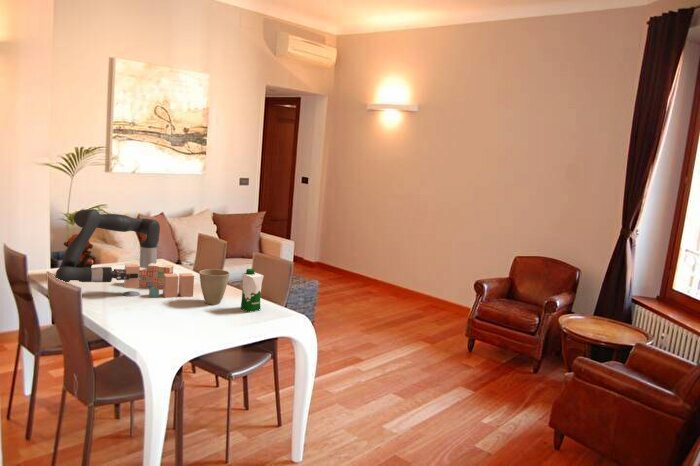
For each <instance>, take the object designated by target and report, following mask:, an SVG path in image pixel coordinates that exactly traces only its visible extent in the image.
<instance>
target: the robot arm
mask: <svg viewBox="0 0 700 466" xmlns="http://www.w3.org/2000/svg"><path fill="white" fill-rule="evenodd" d="M73 221H74V223H75V224H76V225H77V226H78V227H80V228H81V230H80V231H79V233H77V234H78V235H77V236H76V238H75V239H74V240H73V241H72V242H71V243H70V244H69V246H68V247H67V248H66V250H65V252H64V255H63V257H62V259H61V260H62V261H61V264H60V265H59V267H58V268H57V270H56V272H55V279H56V278H58V279H60V280H63V281H65V282H68V283H70V282H71V281H78V282H79V283H112V281H113V279H115V280H116V281H124V280H129V279H130V278H138V274H129V273H126V272H125V268H124V269H123V268H114V269H112V267H111V266H96V267H91V268H78V267H76V265H77V263H78V261H79V259H80V256H81V254H82V252H83V250H84V248H85V246H86V244H87V242H88V241H89V242H90V239H91V237H92V236H93V234H94V232H95V231H96V230H97V229H103V230H105V231H106V230H108V231H113V232H120V233H122V232H123V233H124V232H125V233H126V232H136V233H140V234H143V235H146V237H145V238H146V239H144V240H141V241H140V243H139V267H141V268H147V265H149V264H151V263H155V264H157V258H158V244H159V241H160V232H161V226H160V225H161V224H160V222H159V221H158V220H156V219H153V218H152V219H151V218H135V217H131V216H128V215H124V214H119V213H100V212H99V211H98V210H96V209H94V208H93V209H81V210H78V211H77V212H76V213H75V214H74V216H73ZM126 276H127V277H126Z"/></svg>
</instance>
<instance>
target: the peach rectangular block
mask: <svg viewBox="0 0 700 466" xmlns="http://www.w3.org/2000/svg"><path fill="white" fill-rule="evenodd" d="M194 283H195V275H194V274H193V273H191V272H183V273H182V272H181V273H179V276H178V296H179V297H181V298H185V297H186V298H187V297H193V296H194V285H195V284H194Z"/></svg>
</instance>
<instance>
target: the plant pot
mask: <svg viewBox="0 0 700 466" xmlns="http://www.w3.org/2000/svg"><path fill="white" fill-rule="evenodd" d="M198 275H199V281H200V287H201V292H202V296H203V298H204V299H203V300H204V302H205V304H207V305H213V306H214V305H219V304H221V302H222V300H223V297H224V295H225V293H226V289H227V286H228V282H229V278H230V272H229V271H227V270H224V269H216V268H215V269H214V268H208V269H203V270H199V273H198Z"/></svg>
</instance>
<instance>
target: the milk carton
mask: <svg viewBox="0 0 700 466" xmlns="http://www.w3.org/2000/svg"><path fill="white" fill-rule="evenodd" d="M241 275H242V276H241V277H242V278H241V279H242V289H241V290H242V292H241V301H240V309H241V310H243V309H244V310H243V311H245V310H247V311H246V312H248V311H253V312H256V311H255V310H258V311H260V310H261V298H262V297H261V296H262V295H261V294H262V283H263V280H264V276H265V275H263V274H261V273H257V272H255V269H254V268H246V271H245V272H244V273H242V274H241ZM259 309H260V310H259Z"/></svg>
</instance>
